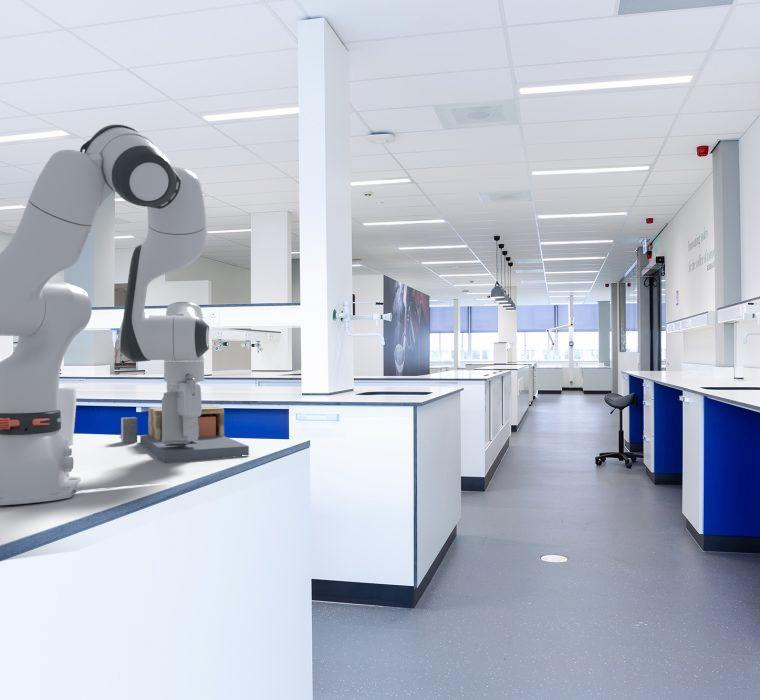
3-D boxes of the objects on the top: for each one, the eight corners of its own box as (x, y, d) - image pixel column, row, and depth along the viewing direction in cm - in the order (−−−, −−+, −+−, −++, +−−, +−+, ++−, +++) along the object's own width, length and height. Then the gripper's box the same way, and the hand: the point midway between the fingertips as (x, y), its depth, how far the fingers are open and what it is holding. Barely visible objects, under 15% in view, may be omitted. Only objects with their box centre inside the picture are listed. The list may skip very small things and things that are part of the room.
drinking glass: (81, 445, 182) (81, 387, 182) (67, 448, 175) (67, 389, 175) (56, 445, 183) (56, 387, 183) (41, 448, 176) (41, 389, 176)
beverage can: (179, 442, 155) (178, 389, 158) (155, 445, 157) (155, 393, 160) (196, 444, 161) (196, 392, 164) (174, 447, 163) (173, 396, 166)
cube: (215, 436, 182) (215, 416, 182) (196, 436, 180) (196, 417, 180) (212, 433, 186) (212, 415, 186) (193, 434, 184) (193, 415, 184)
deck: (248, 456, 162) (248, 446, 162) (164, 462, 154) (164, 451, 154) (212, 440, 192) (212, 431, 192) (140, 444, 183) (140, 435, 183)
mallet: (137, 444, 183) (137, 418, 183) (123, 445, 182) (123, 418, 182) (129, 439, 195) (129, 413, 195) (116, 439, 194) (116, 414, 194)
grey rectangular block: (217, 439, 161) (217, 409, 162) (182, 441, 157) (182, 410, 158) (197, 437, 180) (197, 409, 180) (165, 438, 176) (165, 410, 176)
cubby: (224, 436, 182) (224, 408, 182) (156, 439, 174) (156, 411, 174) (212, 431, 192) (212, 405, 192) (148, 434, 184) (148, 407, 184)
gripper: (208, 374, 152) (209, 438, 152) (189, 373, 170) (189, 429, 170) (179, 374, 149) (179, 439, 149) (162, 373, 167) (162, 431, 167)
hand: (184, 434), depth 160 cm, fingers closed on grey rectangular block, 4 cm apart
